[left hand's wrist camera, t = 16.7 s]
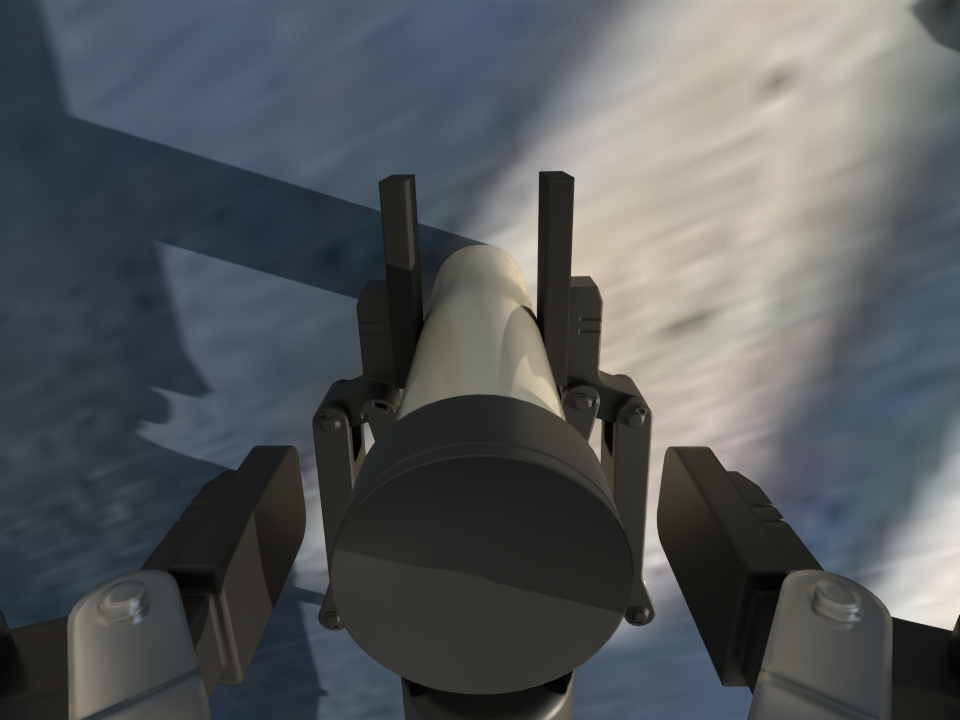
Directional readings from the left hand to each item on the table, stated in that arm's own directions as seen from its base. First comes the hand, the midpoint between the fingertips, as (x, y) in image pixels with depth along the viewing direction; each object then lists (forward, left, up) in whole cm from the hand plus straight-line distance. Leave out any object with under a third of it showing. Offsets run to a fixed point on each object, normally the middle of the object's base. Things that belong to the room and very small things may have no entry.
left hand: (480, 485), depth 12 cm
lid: (0, 0, +2) cm, 2 cm away
